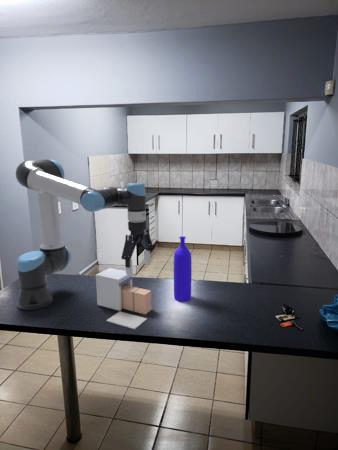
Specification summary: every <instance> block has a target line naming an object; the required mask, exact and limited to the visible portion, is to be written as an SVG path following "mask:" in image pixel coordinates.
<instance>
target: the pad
mask: <svg viewBox="0 0 338 450" xmlns="http://www.w3.org/2000/svg"><path fill="white" fill-rule="evenodd" d="M147 320H148V318H147V317H142V316H140V315H139V316H138V315H136V314H131V313H127V312H123V311H121V310H120V311H119V310H118V312H117V313H115V314H113V315H112V316H111V317H109V318H107V319H106V322H108V323H112V324H115V325H118V326H121V327H125V328H129V329H132V330H136V329H137V328H138V327H140V326H141V325H142V324H143V323H144V322H146V321H147Z"/></svg>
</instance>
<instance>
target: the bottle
mask: <svg viewBox="0 0 338 450" xmlns="http://www.w3.org/2000/svg"><path fill="white" fill-rule="evenodd" d="M178 239H180V240H179V242H180V243H179V247H177V249H176V250H175V251H174V253H173V296H174V297H173V298H174V300H175V301H177V302H179V303H180V302H181V303H185V302H189V301H190V300H191V299H192V275H193V274H192V253H191V251H190V249H188V248H187V247H186V239H187V237H186V236H179V237H178Z"/></svg>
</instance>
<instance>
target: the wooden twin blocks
mask: <svg viewBox="0 0 338 450" xmlns="http://www.w3.org/2000/svg"><path fill="white" fill-rule="evenodd" d="M121 301H122V310H123V309H124V310H126V311H127V310H128V311H131V312H135V313H139V314H141V315H147V314H148V313H149V312H150V311H152V310H153V309H152V307H153V306H152V290H150V289H145V288H141V287H136V286H133V285H132V286H128V285H122V286H121Z"/></svg>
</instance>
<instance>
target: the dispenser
mask: <svg viewBox="0 0 338 450" xmlns="http://www.w3.org/2000/svg"><path fill="white" fill-rule="evenodd" d="M133 280H134V276H133V275H128V274H126V270H123V269H117V268H112V267H109V268H106V269H105V270H102V271H101V272H99V273H97V274H95V287H96V302H97V306H100V307H104V308H108V309H112V310H115V311H118V312H119V311H120V312H121V311H122V310H123V308H122V301H121V286H122V285H128V286H132V287H133Z"/></svg>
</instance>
